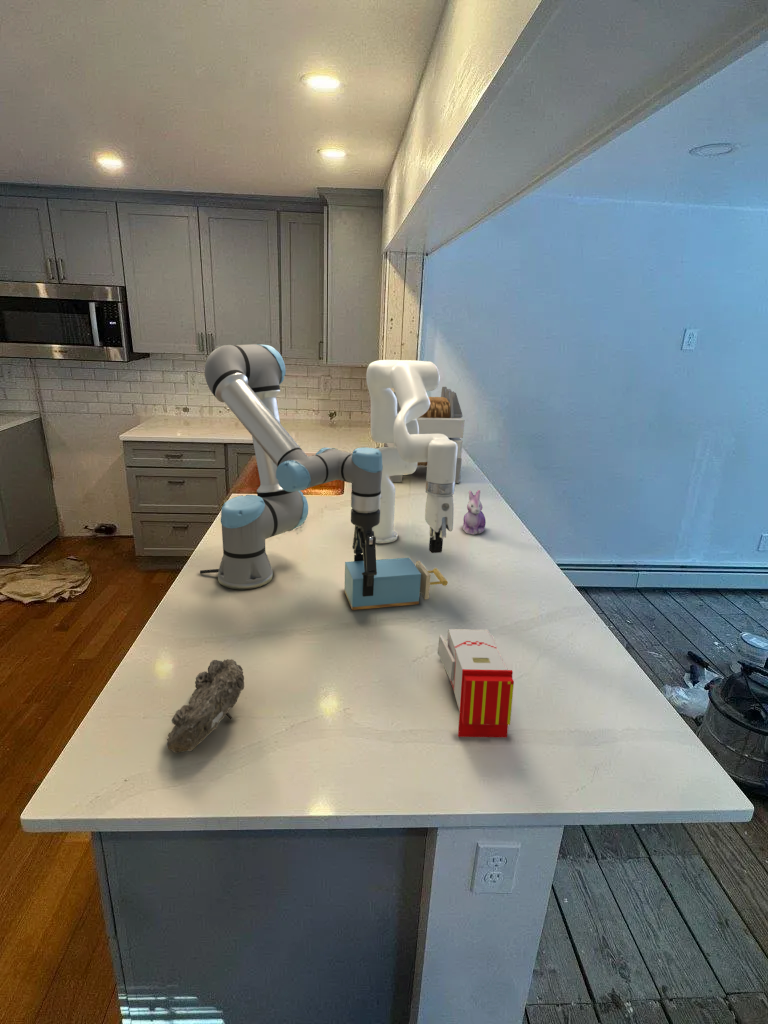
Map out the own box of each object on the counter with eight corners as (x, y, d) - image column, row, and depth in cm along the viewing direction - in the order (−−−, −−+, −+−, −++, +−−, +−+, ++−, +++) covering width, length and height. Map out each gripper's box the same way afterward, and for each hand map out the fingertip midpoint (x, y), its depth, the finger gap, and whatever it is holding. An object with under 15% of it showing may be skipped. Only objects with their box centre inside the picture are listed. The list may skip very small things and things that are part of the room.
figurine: (471, 536, 200) (475, 496, 195) (454, 527, 208) (458, 488, 203) (492, 533, 204) (497, 493, 199) (475, 523, 212) (479, 485, 207)
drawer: (436, 581, 164) (438, 559, 161) (447, 597, 155) (449, 573, 153) (359, 588, 158) (360, 564, 156) (366, 604, 150) (367, 580, 147)
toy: (488, 613, 130) (523, 677, 101) (484, 667, 133) (517, 744, 104) (435, 612, 130) (455, 676, 101) (432, 666, 133) (451, 743, 103)
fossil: (192, 660, 117) (244, 628, 112) (224, 691, 120) (276, 661, 115) (142, 746, 98) (202, 712, 93) (182, 779, 101) (242, 748, 96)
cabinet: (407, 586, 163) (409, 557, 160) (418, 604, 153) (421, 573, 150) (344, 591, 158) (344, 561, 155) (351, 610, 148) (352, 579, 145)
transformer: (382, 463, 289) (386, 382, 275) (445, 464, 293) (451, 384, 279) (390, 482, 257) (394, 392, 243) (460, 483, 261) (468, 394, 247)
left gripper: (391, 523, 136) (387, 605, 143) (369, 494, 157) (367, 566, 164) (361, 525, 134) (358, 607, 141) (342, 495, 155) (341, 568, 162)
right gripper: (464, 494, 143) (458, 561, 149) (443, 478, 156) (439, 540, 162) (436, 496, 141) (431, 563, 147) (417, 479, 154) (414, 542, 160)
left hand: (363, 585), depth 153 cm, fingers closed on cabinet, 11 cm apart
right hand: (435, 551), depth 154 cm, fingers closed
